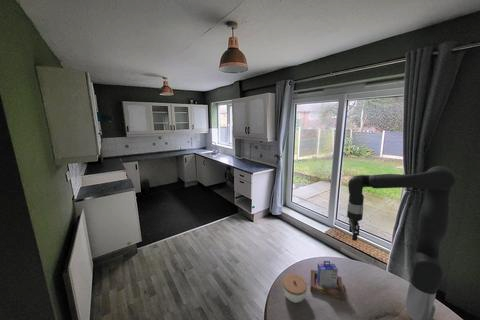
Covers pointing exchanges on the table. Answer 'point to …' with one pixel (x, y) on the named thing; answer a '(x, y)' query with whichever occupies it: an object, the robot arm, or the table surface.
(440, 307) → the table surface
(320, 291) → the picture frame
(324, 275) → the ink cartridge box
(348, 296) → the table surface
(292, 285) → the lidded bowl
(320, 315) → the table surface
